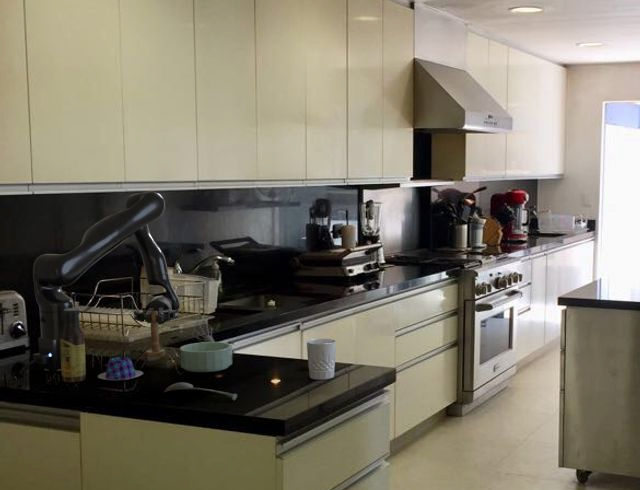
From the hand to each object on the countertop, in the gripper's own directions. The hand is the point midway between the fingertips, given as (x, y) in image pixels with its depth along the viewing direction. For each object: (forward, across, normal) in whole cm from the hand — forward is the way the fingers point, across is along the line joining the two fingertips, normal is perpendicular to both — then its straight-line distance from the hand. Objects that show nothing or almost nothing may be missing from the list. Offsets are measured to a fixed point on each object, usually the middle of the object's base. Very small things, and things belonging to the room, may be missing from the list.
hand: (153, 319), depth 269 cm
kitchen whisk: (-28, +14, +14) cm, 34 cm away
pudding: (+12, -8, +14) cm, 20 cm away
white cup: (+25, +46, +14) cm, 54 cm away
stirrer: (-3, 0, +11) cm, 11 cm away
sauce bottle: (+14, -20, +14) cm, 28 cm away
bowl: (+5, +15, +14) cm, 21 cm away
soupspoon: (+39, +14, +14) cm, 43 cm away
